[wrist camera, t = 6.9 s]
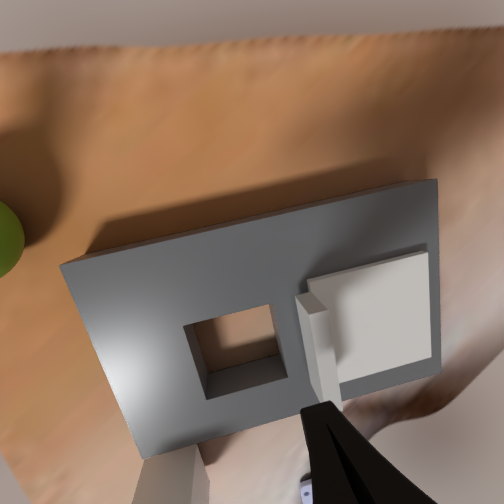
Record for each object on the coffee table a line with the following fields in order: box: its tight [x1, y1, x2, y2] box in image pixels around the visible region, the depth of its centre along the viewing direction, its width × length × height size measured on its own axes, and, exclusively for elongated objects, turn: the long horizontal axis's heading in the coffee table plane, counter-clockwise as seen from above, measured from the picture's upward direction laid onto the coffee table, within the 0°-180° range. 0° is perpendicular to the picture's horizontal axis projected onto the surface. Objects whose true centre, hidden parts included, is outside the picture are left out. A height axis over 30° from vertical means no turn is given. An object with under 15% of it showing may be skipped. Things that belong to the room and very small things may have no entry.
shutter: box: [295, 251, 431, 411], centre depth 15 cm, size 8×9×3 cm
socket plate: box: [59, 179, 441, 459], centre depth 17 cm, size 14×22×2 cm, turn 102°
